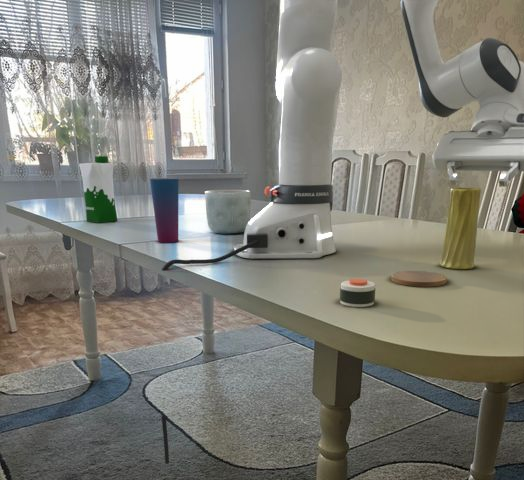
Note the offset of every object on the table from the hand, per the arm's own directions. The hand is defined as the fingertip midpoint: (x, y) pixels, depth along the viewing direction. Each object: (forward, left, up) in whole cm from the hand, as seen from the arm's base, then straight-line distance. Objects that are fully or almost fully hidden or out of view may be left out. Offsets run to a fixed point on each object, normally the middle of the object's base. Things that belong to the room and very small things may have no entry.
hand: (476, 183), depth 105 cm
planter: (-42, +52, -15) cm, 68 cm away
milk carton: (-79, +88, -15) cm, 119 cm away
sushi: (-34, -27, -15) cm, 46 cm away
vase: (-6, -6, -15) cm, 17 cm away
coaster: (-18, -16, -15) cm, 28 cm away
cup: (-59, +39, -15) cm, 72 cm away
